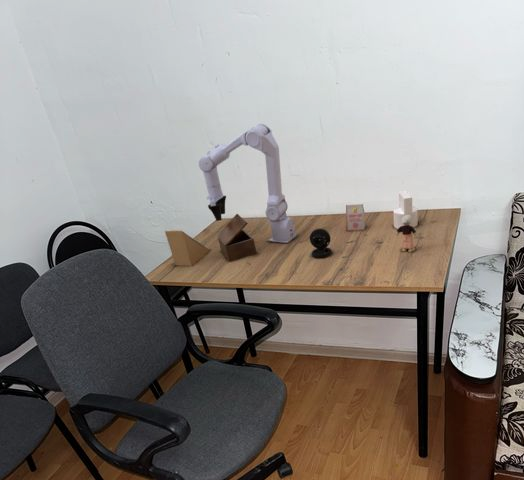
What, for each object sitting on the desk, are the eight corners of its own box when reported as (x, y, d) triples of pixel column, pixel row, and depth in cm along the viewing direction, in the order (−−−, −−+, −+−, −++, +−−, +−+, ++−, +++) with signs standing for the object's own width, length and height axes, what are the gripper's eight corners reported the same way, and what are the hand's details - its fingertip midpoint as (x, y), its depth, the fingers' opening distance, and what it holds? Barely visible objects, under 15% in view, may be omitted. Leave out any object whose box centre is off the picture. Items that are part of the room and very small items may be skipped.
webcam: (309, 258, 176) (306, 233, 171) (314, 250, 182) (311, 225, 176) (329, 258, 174) (326, 232, 168) (334, 249, 179) (331, 224, 174)
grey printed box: (348, 227, 195) (346, 203, 189) (365, 226, 192) (363, 202, 187) (347, 230, 192) (345, 206, 186) (363, 230, 189) (362, 205, 184)
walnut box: (246, 243, 201) (243, 229, 197) (256, 253, 190) (253, 238, 186) (221, 250, 199) (217, 236, 195) (229, 261, 188) (225, 247, 184)
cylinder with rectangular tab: (420, 226, 182) (420, 196, 176) (396, 230, 183) (396, 200, 176) (414, 219, 190) (414, 189, 183) (391, 222, 191) (390, 193, 184)
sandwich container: (211, 249, 202) (202, 215, 193) (192, 265, 191) (182, 230, 183) (194, 249, 206) (185, 216, 197) (175, 265, 195) (164, 230, 187)
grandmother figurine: (418, 247, 167) (419, 213, 160) (417, 252, 165) (417, 217, 158) (396, 247, 171) (396, 213, 164) (394, 252, 168) (393, 217, 161)
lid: (238, 214, 193) (237, 213, 193) (247, 223, 182) (246, 222, 182) (217, 236, 195) (216, 235, 195) (226, 246, 184) (225, 245, 184)
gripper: (208, 181, 202) (215, 212, 210) (200, 192, 191) (208, 224, 198) (224, 179, 201) (230, 210, 208) (216, 189, 189) (224, 222, 197)
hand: (220, 217), depth 203 cm, fingers open, 7 cm apart
